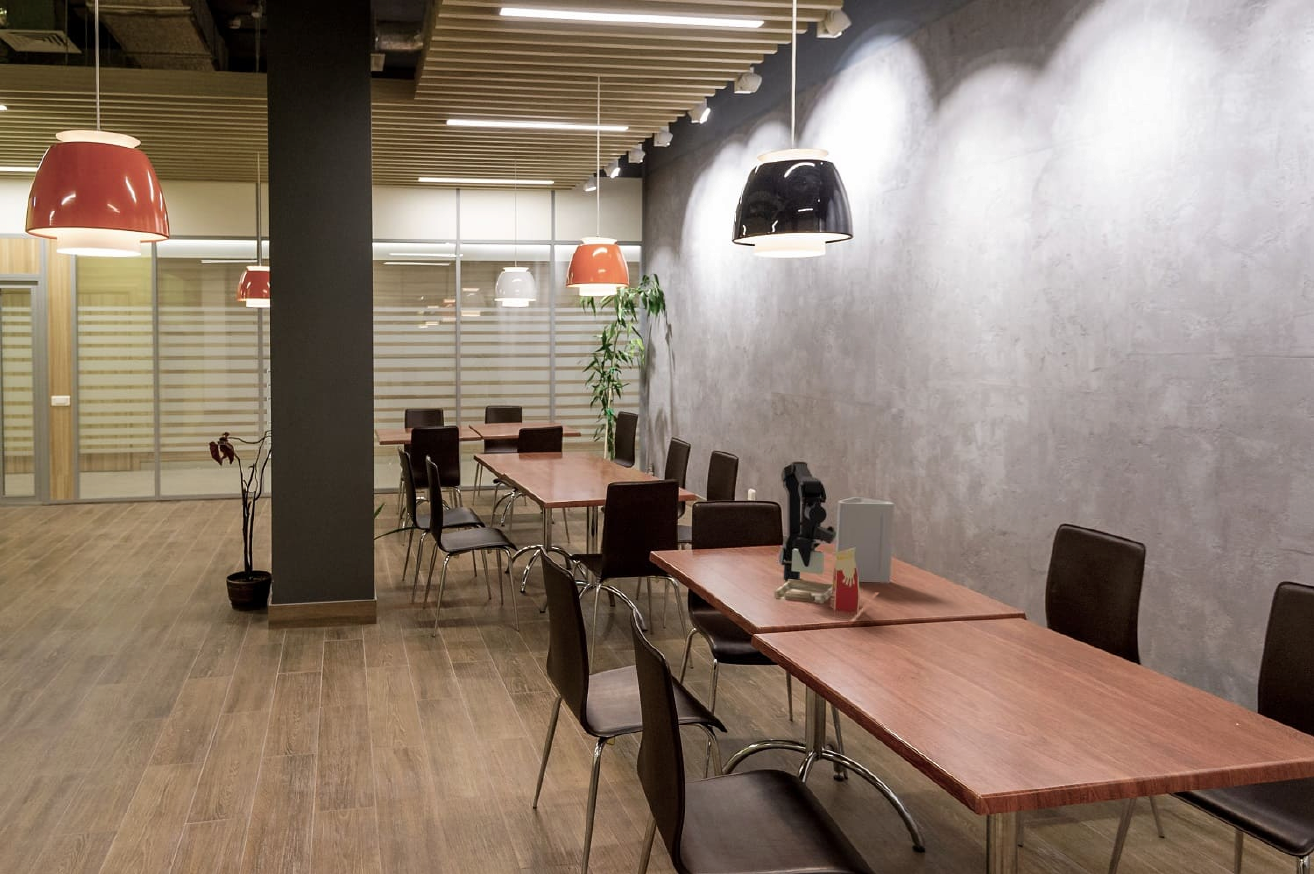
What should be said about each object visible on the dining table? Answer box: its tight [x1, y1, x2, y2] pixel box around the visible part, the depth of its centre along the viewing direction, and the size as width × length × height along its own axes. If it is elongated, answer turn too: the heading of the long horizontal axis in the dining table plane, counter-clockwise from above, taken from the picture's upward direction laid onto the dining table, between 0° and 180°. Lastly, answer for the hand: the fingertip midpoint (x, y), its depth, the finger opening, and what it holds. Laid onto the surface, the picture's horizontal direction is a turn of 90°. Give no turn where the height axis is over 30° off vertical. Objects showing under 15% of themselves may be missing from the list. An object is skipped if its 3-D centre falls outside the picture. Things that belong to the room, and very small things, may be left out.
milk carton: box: [829, 548, 861, 614], centre depth 330 cm, size 9×9×20 cm
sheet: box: [792, 549, 825, 575], centre depth 347 cm, size 2×10×7 cm, turn 68°
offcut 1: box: [785, 591, 812, 598], centre depth 340 cm, size 4×8×1 cm, turn 74°
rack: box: [773, 579, 833, 604], centre depth 347 cm, size 18×16×4 cm
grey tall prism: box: [834, 497, 895, 583], centre depth 378 cm, size 19×15×28 cm
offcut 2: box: [784, 596, 815, 603], centre depth 340 cm, size 4×9×1 cm, turn 68°
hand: (807, 565), depth 347 cm, fingers closed on sheet, 2 cm apart
